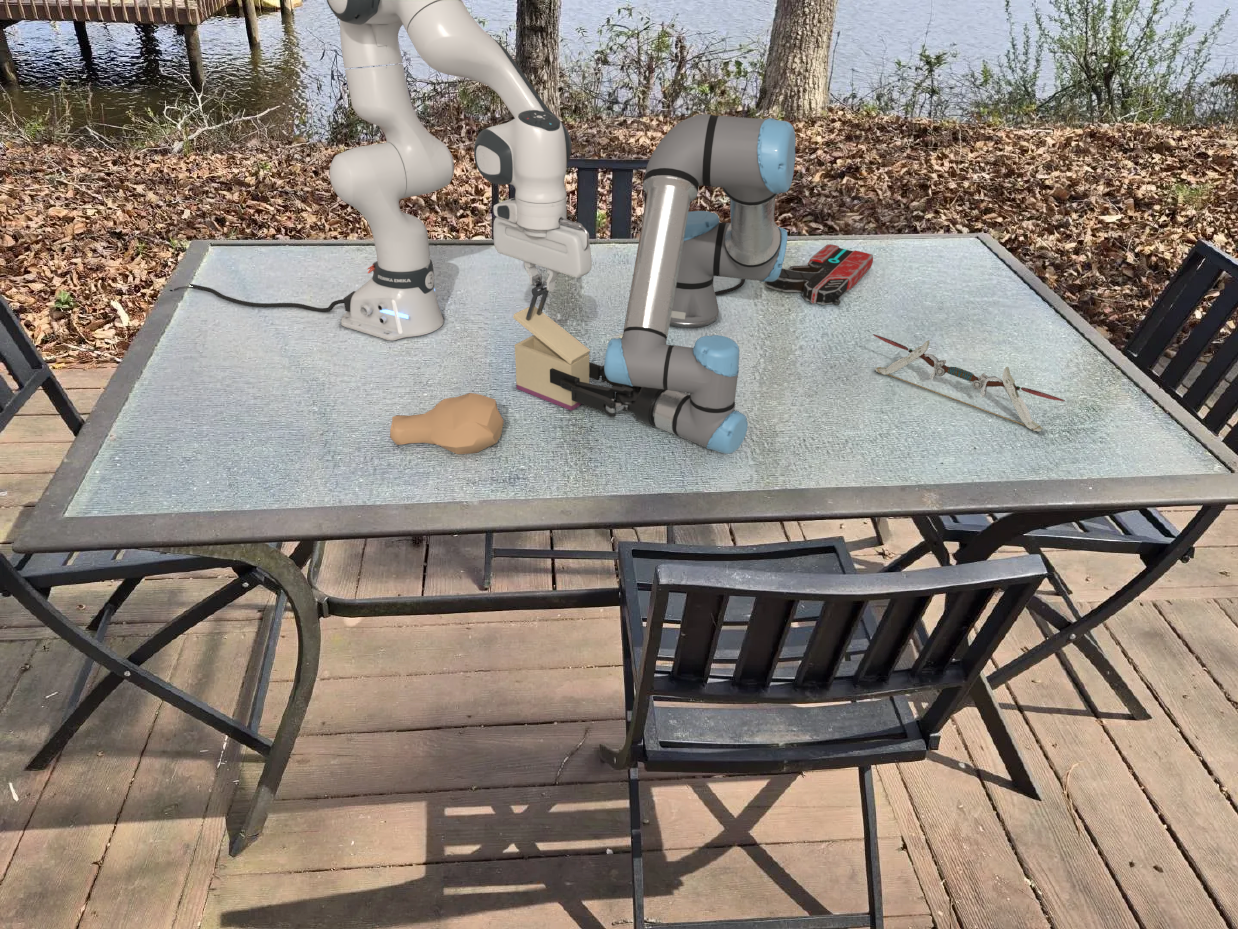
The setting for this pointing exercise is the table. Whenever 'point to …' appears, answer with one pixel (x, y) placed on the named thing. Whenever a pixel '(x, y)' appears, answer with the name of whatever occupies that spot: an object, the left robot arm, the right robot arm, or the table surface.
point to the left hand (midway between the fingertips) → (542, 287)
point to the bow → (978, 382)
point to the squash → (452, 425)
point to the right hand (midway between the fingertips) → (561, 369)
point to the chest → (546, 372)
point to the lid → (549, 329)
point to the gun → (825, 275)
